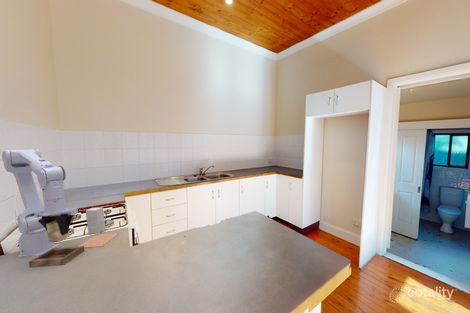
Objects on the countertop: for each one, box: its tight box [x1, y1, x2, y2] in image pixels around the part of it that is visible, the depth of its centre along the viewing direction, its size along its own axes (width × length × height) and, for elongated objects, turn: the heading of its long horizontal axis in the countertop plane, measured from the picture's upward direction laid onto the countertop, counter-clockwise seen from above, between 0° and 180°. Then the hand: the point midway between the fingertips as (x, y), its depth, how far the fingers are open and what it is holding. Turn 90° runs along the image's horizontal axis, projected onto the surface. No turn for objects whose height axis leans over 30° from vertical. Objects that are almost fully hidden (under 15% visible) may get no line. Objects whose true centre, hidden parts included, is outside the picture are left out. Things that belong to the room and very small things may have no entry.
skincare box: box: [85, 207, 106, 235], centre depth 91 cm, size 6×4×12 cm
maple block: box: [47, 220, 71, 243], centre depth 68 cm, size 4×4×7 cm
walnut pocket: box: [28, 245, 85, 268], centre depth 68 cm, size 12×8×2 cm
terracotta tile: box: [77, 233, 120, 249], centre depth 80 cm, size 11×11×1 cm
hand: (59, 234), depth 68 cm, fingers closed on maple block, 4 cm apart
